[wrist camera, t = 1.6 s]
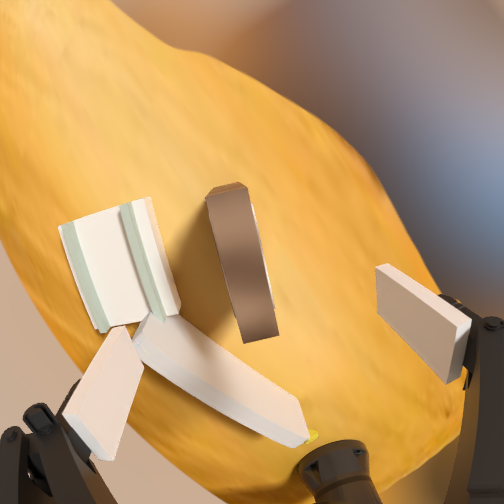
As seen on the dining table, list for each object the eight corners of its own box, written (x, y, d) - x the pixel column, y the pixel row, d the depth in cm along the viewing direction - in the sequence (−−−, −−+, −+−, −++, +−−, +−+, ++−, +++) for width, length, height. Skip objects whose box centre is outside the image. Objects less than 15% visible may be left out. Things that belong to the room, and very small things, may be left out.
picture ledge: (181, 303, 37) (176, 319, 33) (102, 319, 37) (90, 335, 32) (150, 195, 33) (139, 199, 29) (68, 222, 33) (51, 228, 29)
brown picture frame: (262, 277, 37) (282, 334, 24) (234, 283, 37) (240, 344, 24) (240, 181, 34) (250, 186, 20) (211, 188, 34) (201, 198, 20)
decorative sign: (143, 314, 38) (122, 354, 28) (159, 295, 37) (140, 333, 27) (300, 421, 45) (313, 463, 36) (316, 409, 45) (333, 451, 35)
